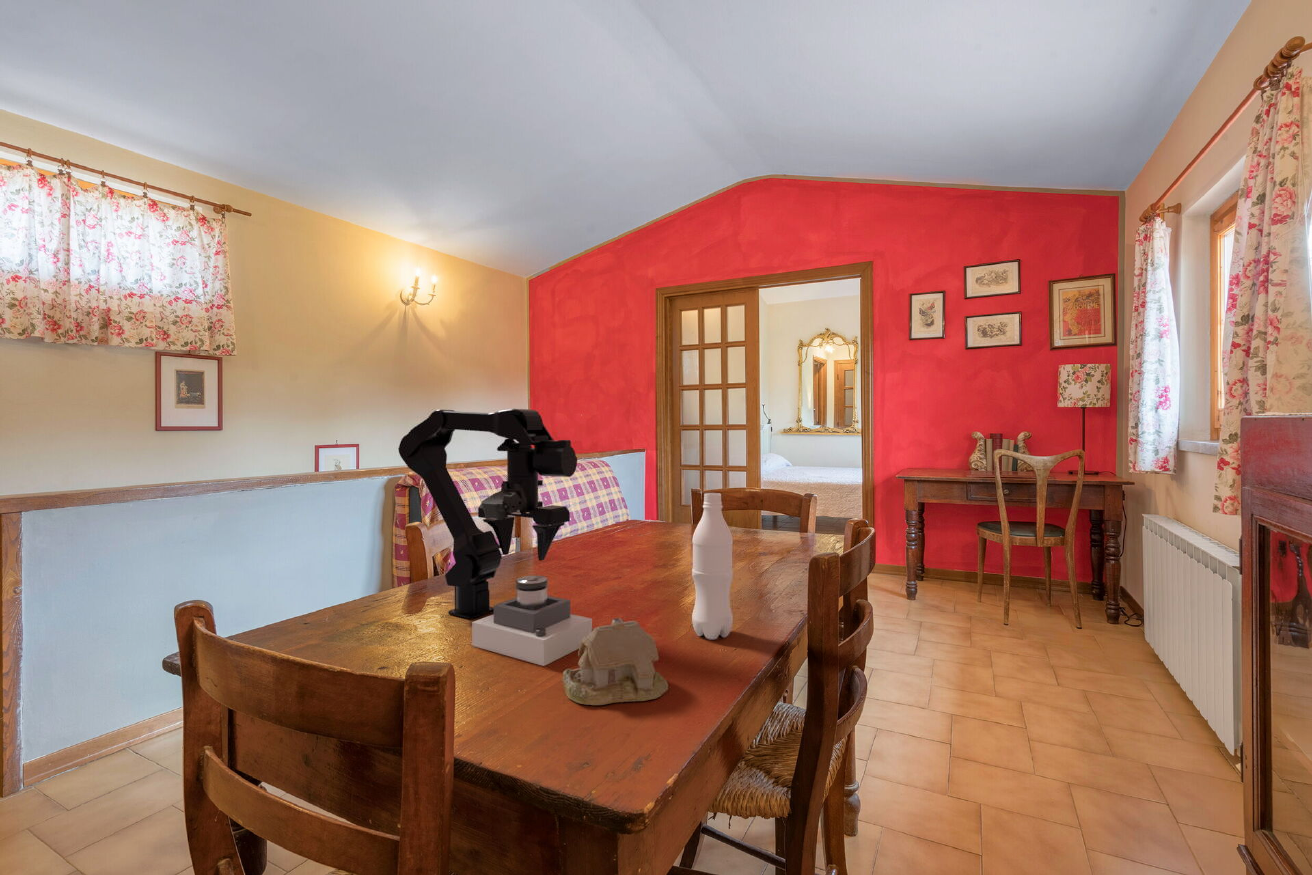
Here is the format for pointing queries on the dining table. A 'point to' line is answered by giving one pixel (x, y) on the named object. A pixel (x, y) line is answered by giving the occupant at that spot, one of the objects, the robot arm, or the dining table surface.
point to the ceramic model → (615, 666)
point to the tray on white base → (532, 631)
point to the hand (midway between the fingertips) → (523, 557)
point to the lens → (531, 592)
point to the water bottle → (712, 571)
